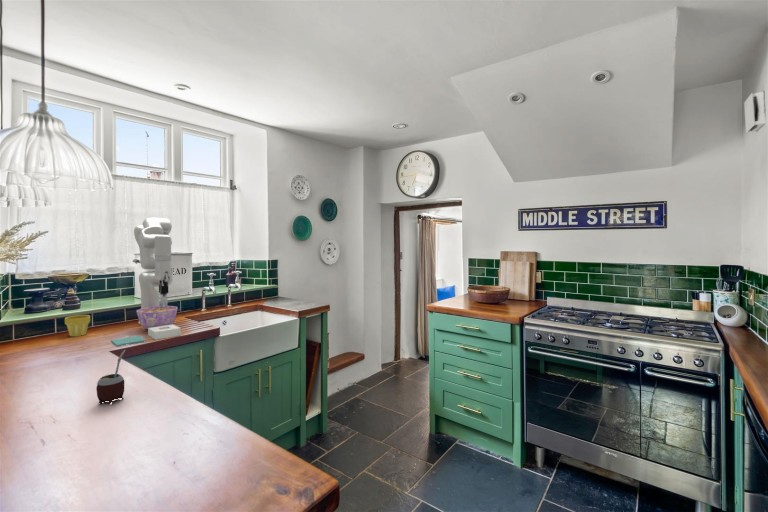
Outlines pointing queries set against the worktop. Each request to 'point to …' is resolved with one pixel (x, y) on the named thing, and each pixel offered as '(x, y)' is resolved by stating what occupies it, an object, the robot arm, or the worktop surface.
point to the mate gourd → (111, 386)
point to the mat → (128, 340)
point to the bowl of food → (157, 316)
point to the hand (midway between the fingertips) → (163, 292)
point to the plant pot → (77, 324)
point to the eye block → (164, 331)
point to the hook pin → (163, 298)
